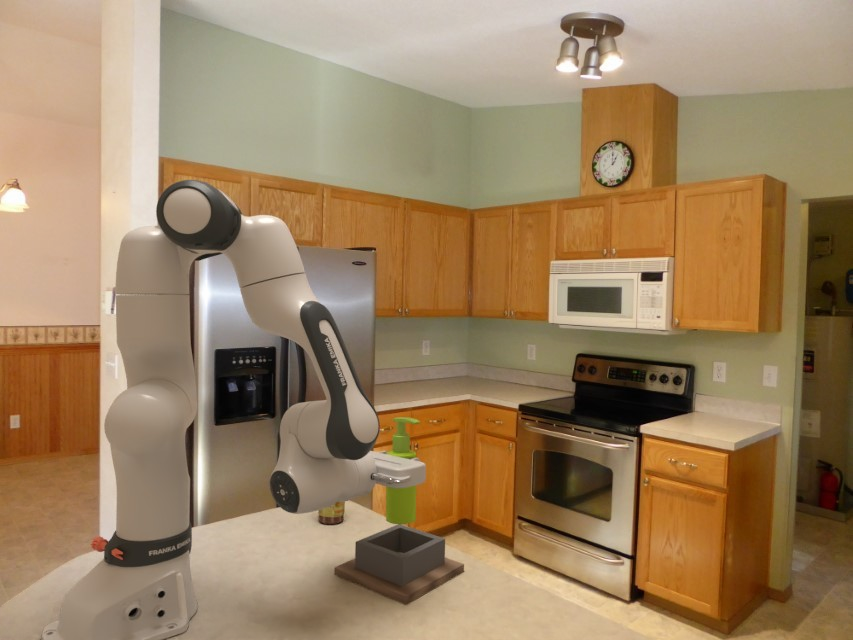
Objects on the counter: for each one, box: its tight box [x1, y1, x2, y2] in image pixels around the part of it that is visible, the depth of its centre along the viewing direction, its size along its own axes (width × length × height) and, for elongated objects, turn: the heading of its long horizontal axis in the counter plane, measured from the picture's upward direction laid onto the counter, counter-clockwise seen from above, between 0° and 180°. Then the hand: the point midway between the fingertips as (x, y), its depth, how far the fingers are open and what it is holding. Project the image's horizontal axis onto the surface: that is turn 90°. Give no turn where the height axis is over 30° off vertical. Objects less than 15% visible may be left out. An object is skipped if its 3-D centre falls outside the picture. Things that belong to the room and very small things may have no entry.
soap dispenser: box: [385, 416, 421, 525], centre depth 118 cm, size 6×7×20 cm
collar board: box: [333, 524, 465, 606], centre depth 118 cm, size 18×18×6 cm
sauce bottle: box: [317, 501, 346, 525], centre depth 146 cm, size 7×6×20 cm
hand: (402, 458), depth 119 cm, fingers closed on soap dispenser, 6 cm apart
